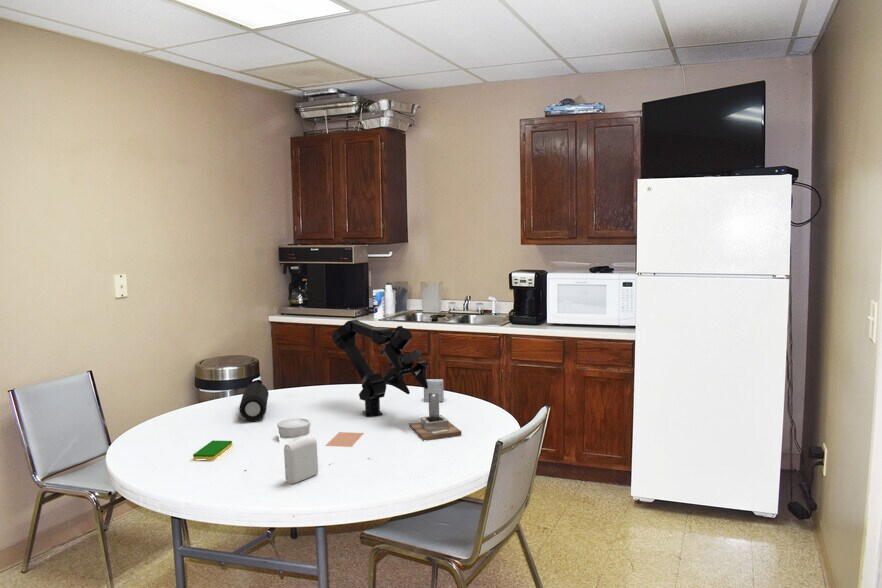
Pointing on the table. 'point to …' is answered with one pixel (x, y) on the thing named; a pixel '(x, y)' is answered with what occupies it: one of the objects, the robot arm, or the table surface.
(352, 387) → the table surface
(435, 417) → the steel peg
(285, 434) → the ramekin
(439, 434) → the board
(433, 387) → the medicine box
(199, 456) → the dish sponge
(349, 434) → the peach flat block
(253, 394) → the portable speaker
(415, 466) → the table surface
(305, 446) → the photo printer
